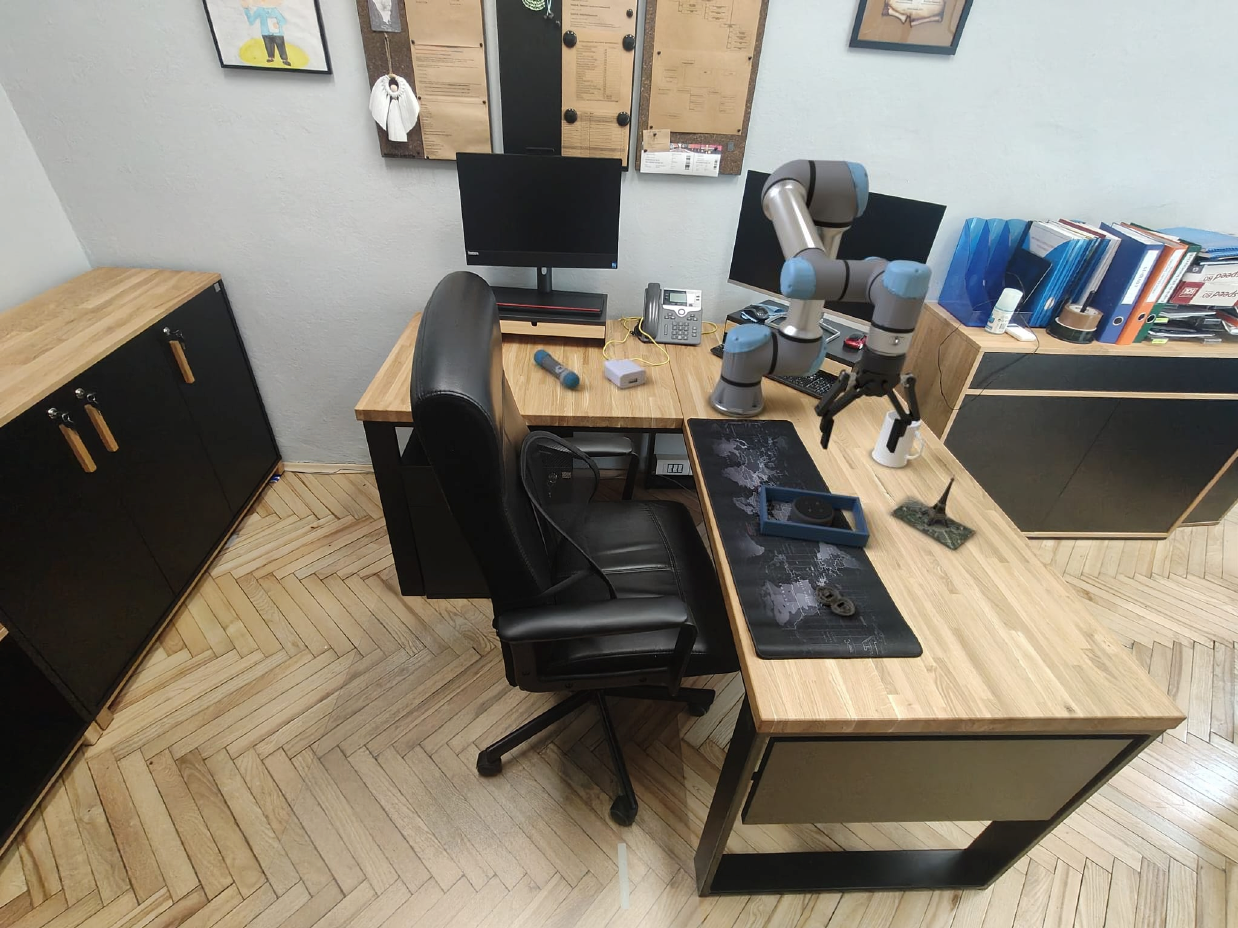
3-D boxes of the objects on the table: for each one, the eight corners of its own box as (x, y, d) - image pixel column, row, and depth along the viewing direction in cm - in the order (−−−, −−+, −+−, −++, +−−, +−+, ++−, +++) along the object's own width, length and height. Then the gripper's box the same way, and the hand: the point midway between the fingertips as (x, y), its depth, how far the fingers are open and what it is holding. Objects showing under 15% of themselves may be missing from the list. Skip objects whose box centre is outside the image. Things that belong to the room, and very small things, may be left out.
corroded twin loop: (842, 623, 107) (844, 619, 106) (808, 594, 112) (809, 591, 111) (860, 611, 109) (861, 607, 108) (825, 584, 114) (826, 580, 114)
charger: (620, 364, 192) (645, 383, 182) (595, 370, 188) (619, 389, 178) (620, 350, 189) (646, 369, 179) (595, 356, 185) (620, 375, 175)
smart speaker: (781, 520, 130) (785, 506, 128) (801, 503, 135) (805, 489, 133) (818, 540, 125) (822, 525, 123) (837, 521, 131) (841, 507, 128)
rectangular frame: (758, 496, 137) (761, 484, 135) (854, 509, 135) (859, 496, 133) (760, 533, 126) (763, 520, 124) (865, 547, 124) (870, 535, 122)
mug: (923, 471, 148) (940, 430, 141) (897, 477, 146) (913, 436, 139) (890, 447, 157) (904, 407, 150) (864, 452, 154) (878, 412, 148)
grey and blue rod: (547, 362, 191) (546, 347, 188) (582, 389, 177) (582, 374, 174) (533, 365, 189) (532, 350, 186) (568, 393, 174) (568, 378, 172)
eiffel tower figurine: (888, 514, 133) (907, 465, 126) (911, 498, 139) (930, 450, 131) (953, 551, 124) (978, 501, 116) (975, 532, 130) (1000, 483, 122)
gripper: (823, 353, 107) (799, 453, 118) (962, 360, 107) (925, 460, 118) (813, 338, 113) (791, 435, 124) (944, 345, 113) (910, 442, 124)
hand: (856, 448), depth 121 cm, fingers open, 13 cm apart
